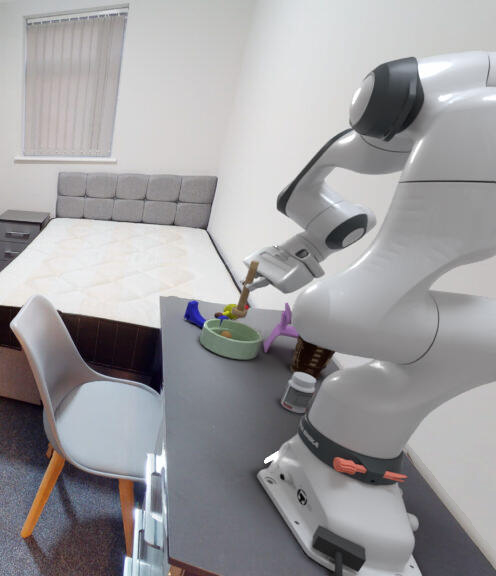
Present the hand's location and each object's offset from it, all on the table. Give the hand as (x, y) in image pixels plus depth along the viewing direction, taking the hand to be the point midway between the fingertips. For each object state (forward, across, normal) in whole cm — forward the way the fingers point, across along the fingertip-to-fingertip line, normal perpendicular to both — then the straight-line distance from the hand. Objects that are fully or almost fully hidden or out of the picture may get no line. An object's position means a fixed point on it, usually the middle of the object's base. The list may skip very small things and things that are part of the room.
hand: (244, 286), depth 101 cm
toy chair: (+3, -3, +26) cm, 27 cm away
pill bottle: (+11, +24, +18) cm, 32 cm away
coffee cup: (+2, +8, +27) cm, 28 cm away
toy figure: (+8, -20, +21) cm, 30 cm away
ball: (+12, -6, +14) cm, 19 cm away
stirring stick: (+6, 0, +6) cm, 8 cm away
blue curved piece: (+15, -15, +14) cm, 25 cm away
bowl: (+14, -2, +16) cm, 21 cm away
